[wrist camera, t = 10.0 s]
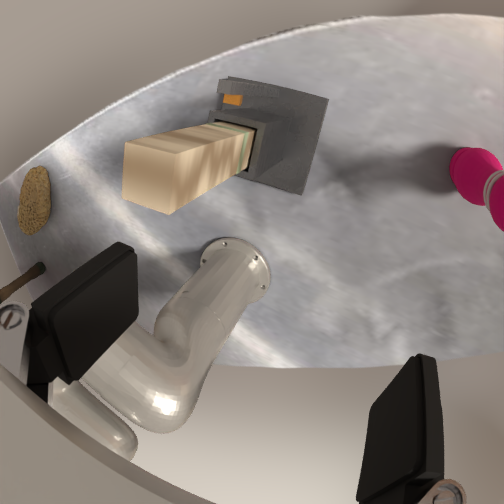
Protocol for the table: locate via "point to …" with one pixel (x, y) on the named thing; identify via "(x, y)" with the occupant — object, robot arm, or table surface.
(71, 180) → the table surface
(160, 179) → the post
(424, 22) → the table surface
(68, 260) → the table surface
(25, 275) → the stick grenade
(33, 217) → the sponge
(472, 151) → the pepper mill
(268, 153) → the grey socket stand
